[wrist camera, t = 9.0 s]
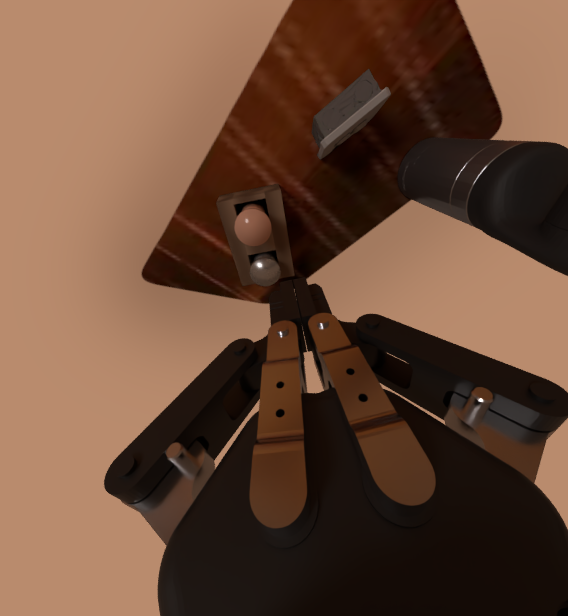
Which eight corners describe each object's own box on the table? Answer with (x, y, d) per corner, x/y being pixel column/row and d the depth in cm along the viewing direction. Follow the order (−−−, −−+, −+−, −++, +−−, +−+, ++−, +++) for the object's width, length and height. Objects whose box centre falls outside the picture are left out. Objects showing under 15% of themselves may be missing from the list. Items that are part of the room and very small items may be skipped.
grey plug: (274, 239, 46) (277, 256, 40) (279, 264, 49) (282, 283, 43) (247, 244, 46) (246, 262, 40) (254, 269, 49) (253, 288, 43)
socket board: (278, 183, 41) (280, 189, 37) (291, 263, 50) (294, 275, 46) (219, 195, 41) (216, 202, 37) (243, 273, 50) (242, 285, 46)
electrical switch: (319, 160, 40) (331, 161, 32) (301, 128, 37) (309, 120, 29) (371, 118, 37) (398, 107, 29) (356, 81, 35) (381, 58, 27)
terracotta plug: (265, 194, 39) (267, 206, 33) (271, 226, 42) (274, 242, 36) (233, 200, 39) (229, 213, 33) (242, 232, 42) (240, 249, 36)
